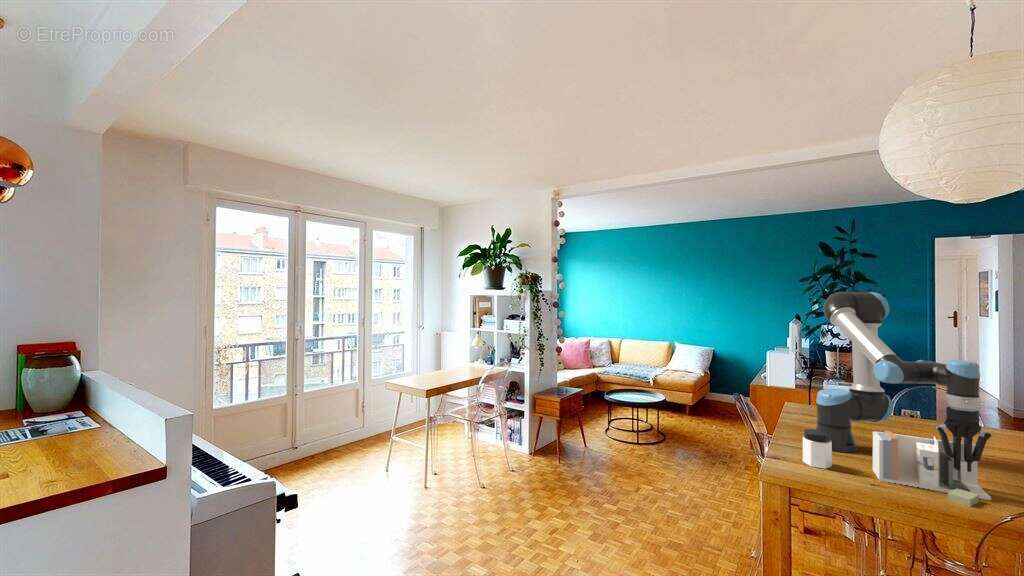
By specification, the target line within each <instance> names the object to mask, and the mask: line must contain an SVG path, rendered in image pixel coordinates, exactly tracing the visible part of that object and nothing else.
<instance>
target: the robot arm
mask: <svg viewBox="0 0 1024 576" xmlns="http://www.w3.org/2000/svg"><path fill="white" fill-rule="evenodd" d="M823 313H824V316H825V317H826V319H827V321H829V322H830V324H831V325H832V326H835V327H838V329H840V331H841V332H843V333H844V335H845V336H846V337H847V338H848V339H849V340H850V341H851V347H852V348H851V350H852V351H851V355H852V377H853V379H852V381H853V382H852V383H853V384H851V385H850V386H849V387H848V389H845V388H835V387H834V388H833V387H832V388H823V389H821V390H819V391H818V392H817V395H816V401H815V402H816V426H815V428H814V429H817V430H822V431H825V432H828V433H829V434H830V441H832V452H838V453H840V452H841V453H854V452H857V451H858V448H857V446H858V445H857V442H856V439H855V437H854V434H853V431H852V422H869V423H879V422H880V423H881V422H886V421H888V419H890V418H891V417H892V415H893V412H894V403H893V401H892V400H891V397H890V396H889V395H887V394H886V391H885V389H884V388H882V387H881V383H884V384H927V385H928V384H929V385H930V384H933V385H937V386H938V385H939V386H943V387H946V399H945V400H946V402H945V403H946V406H947V407H946V408H945V410H946V412H945V413H946V415H945V416H946V417H945V421H944V424H941V425H935V429H936V431H937V432H938V434H939V436H940V438H941V439H940V440H942V443H943V446H944V449H945V453H946V455H948V456H949V457H950V458H953V459H954V468H955V469H956V470H958V479H959V480H960V481H961V482H967V471H968V472H971V463H973V461H978V462H979V461H981V458H982V455H983V452H984V450H985V447H986V444H987V441H988V440H989V439H990V438H991V437H992V434H991V433H990V432H988V431H986V430H984V429H982V427H981V425H980V412H979V409H980V378H981V374H980V366H979V364H978V363H977V362H975V361H972V360H971V361H969V360H962V359H949V360H947V361H946V363H941V362H935V361H932V360H924V359H919V360H916V361H904V360H902V359H901V358H900V356H898V354H896V353H895V352H894V351H893V350H892V349H891V348H890V347H889V346H888V345H887V344H886V343H885V342H884V341H883V340H882V339H881V338H880V337H879V336H878V335H879V333H878V332H879V331H878V328H879V327H881V326H882V325H883V320H885V319H886V318H887V317H888V315H889V313H890V304H889V303H888V300H887V299H886V297H885V296H883V294H880V293H878V292H873V291H838V292H835V293H833V294H831V295H829V296H828V297H827V298H826V299H825V301H824V303H823ZM880 382H881V383H880ZM947 430H948V431H949V432H950V433H951V434H952V442H953V453H952V450H951V447H950V444H949V441H950V440H949V438H948V434H947V432H948V431H947ZM977 434H978V437H977V439H976V443H975V448H974V451H973V453H972V444H973V442H974V441H973V440H974V439H973V438H974V437H975V436H976V435H977ZM962 438H963V439H962ZM962 440H963V443H964V460H963V459H961V443H962Z"/></svg>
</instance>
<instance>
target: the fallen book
mask: <svg viewBox="0 0 1024 576" xmlns="http://www.w3.org/2000/svg"><path fill="white" fill-rule="evenodd" d="M947 500H948V501H951V502H953V503H957V504H960V505H963V506H967V507H972V506H974V505H976V504H977V503H979V501H980V498H979V494H975V493H972V492H968V491H965V490H961V489H958V488H956V489H954V490H952V491H950V492H949V493H947Z"/></svg>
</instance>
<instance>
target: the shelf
mask: <svg viewBox="0 0 1024 576" xmlns="http://www.w3.org/2000/svg"><path fill="white" fill-rule="evenodd" d="M936 440H937V441H938V446H939V487H934V486H929V485H924V484H919V481H918V478H917V476H916V442H920V443H925V444H931V445H934V438H927V437H920V436H913V435H904V434H897V433H893V432H892V431H890V430H884V432H883V431H882V432H881V431H874V430H873V431H872V471H873V473H874V475H875V474H876V475H875V476H876V477H877V480H878V479H879V480H878V481H879V482H883V481H884V482H883V483H888V482H890V483H889V484H894V483H896V484H895V485H900V484H902V485H901V486H905V485H908V486H907V487H911V486H913V487H912V488H917V487H919V489H923V488H924V489H923V490H928V489H929V490H930V491H935V492H939V493H947V494H948V493H949V492H950V491H952V490H954V489H950V488H948V487H947V486H946V485H945V484H944V483H943V482H942V480H941V479H940V453H945V449H944V446H943V443H942V440H941V439H937V438H936ZM936 444H937V443H936ZM949 444H950V447H951V450H952V453H953V440H952V441H950V440H949ZM975 445H976V443H975V444H973V443H972V453H973V451H974V448H975ZM945 454H946V453H945ZM947 456H948V455H947ZM948 457H949V456H948ZM949 458H950V457H949ZM950 459H951V460H952V461H953V480H958V481H960V480H959V479H958V470H956V469H955V468H954V459H953V458H950ZM961 459H963V460H964V442H961ZM978 462H979V461H973V463H971V472H968V471H967V482H962V483H963V484H964V485H965V486H966V487H967V488H968V489H969V490H970V492H972V493H975V494H979V500H980V499H981V500H986V501H992V496H990V495H989V494H988V493H987V492H986V491H985V490H983V488H982V487H981V486H979V484H978V483H979V482H978V481H979V480H978V464H979V463H978Z"/></svg>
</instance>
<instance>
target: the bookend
mask: <svg viewBox="0 0 1024 576" xmlns="http://www.w3.org/2000/svg"><path fill="white" fill-rule="evenodd" d="M940 479H941V480H942V482H943V483H944V484H945V485H946V486H947V487H948V488H950V489H956V488H958V489H961V490H965V491H968V492H970V490H969V489H968V488H967V487H966V486H965V485H964V484H963V483H962V482H961V481H958V480H953V461H952V460H951V459H950V458H949V457H948V456H947V455H946V454H945V453H940Z"/></svg>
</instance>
